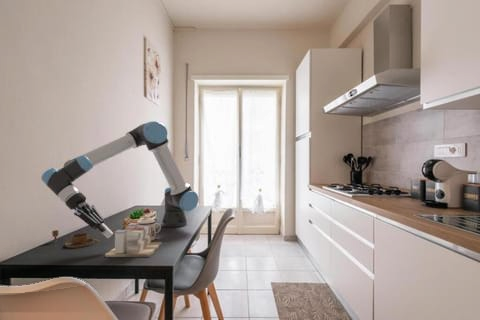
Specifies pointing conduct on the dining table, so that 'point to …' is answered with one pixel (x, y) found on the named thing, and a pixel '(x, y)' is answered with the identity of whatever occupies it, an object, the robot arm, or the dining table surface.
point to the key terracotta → (130, 229)
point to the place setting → (76, 240)
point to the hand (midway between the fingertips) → (110, 235)
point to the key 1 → (120, 241)
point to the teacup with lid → (149, 222)
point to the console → (138, 244)
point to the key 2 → (134, 224)
